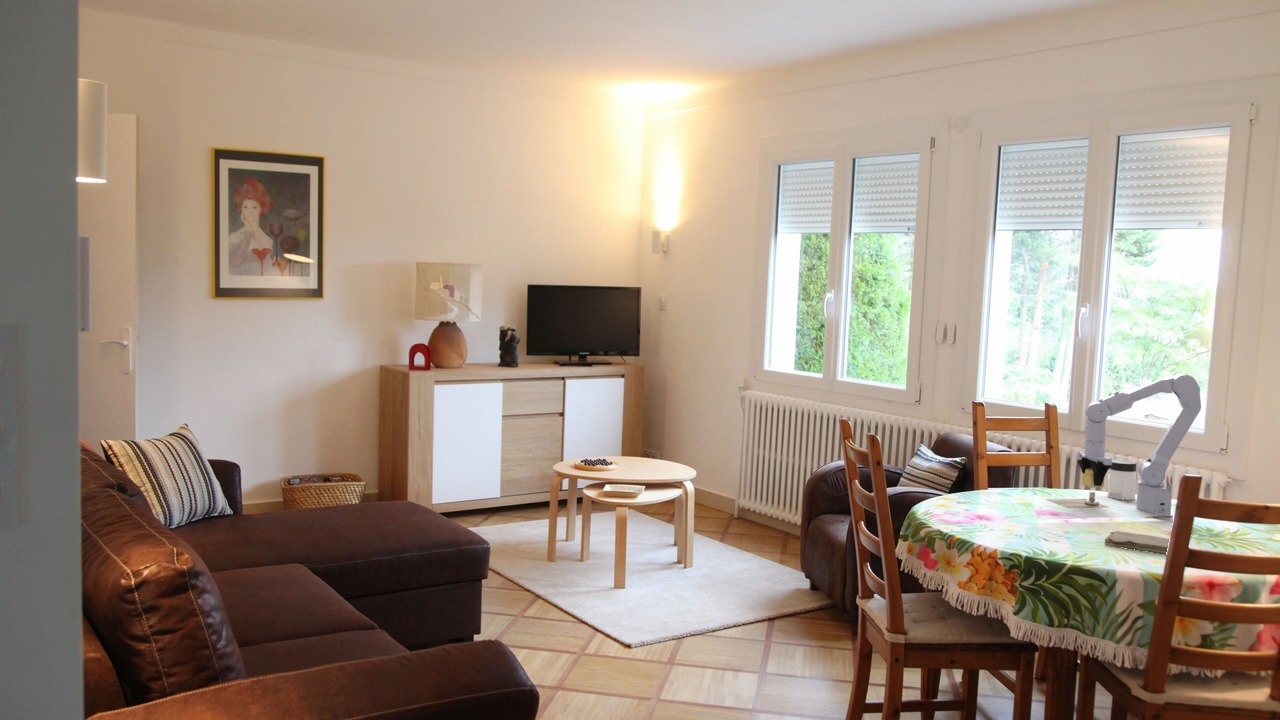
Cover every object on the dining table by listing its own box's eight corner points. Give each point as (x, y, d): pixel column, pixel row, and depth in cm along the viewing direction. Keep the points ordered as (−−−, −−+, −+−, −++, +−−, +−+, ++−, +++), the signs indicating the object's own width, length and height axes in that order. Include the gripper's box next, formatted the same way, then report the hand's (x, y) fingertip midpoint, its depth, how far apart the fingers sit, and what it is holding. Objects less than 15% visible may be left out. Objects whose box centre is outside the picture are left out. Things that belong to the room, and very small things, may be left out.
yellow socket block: (1103, 487, 296) (1104, 469, 296) (1090, 487, 296) (1091, 469, 295) (1094, 484, 301) (1095, 466, 301) (1081, 484, 300) (1082, 466, 300)
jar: (1105, 494, 321) (1107, 458, 320) (1132, 496, 318) (1134, 460, 318) (1108, 499, 313) (1110, 462, 312) (1136, 501, 310) (1138, 464, 309)
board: (1109, 510, 295) (1109, 507, 295) (1067, 511, 293) (1067, 507, 293) (1085, 502, 307) (1085, 498, 307) (1045, 503, 305) (1045, 499, 305)
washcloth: (1110, 538, 262) (1111, 527, 262) (1185, 549, 252) (1185, 538, 252) (1103, 547, 253) (1103, 536, 252) (1180, 559, 242) (1181, 547, 242)
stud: (1101, 505, 297) (1102, 493, 297) (1089, 505, 296) (1090, 493, 296) (1093, 502, 301) (1094, 490, 301) (1082, 502, 300) (1082, 490, 300)
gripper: (1069, 437, 304) (1067, 479, 305) (1097, 444, 290) (1095, 488, 291) (1089, 437, 305) (1087, 479, 306) (1118, 444, 291) (1116, 488, 292)
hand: (1092, 484), depth 298 cm, fingers closed on yellow socket block, 5 cm apart
